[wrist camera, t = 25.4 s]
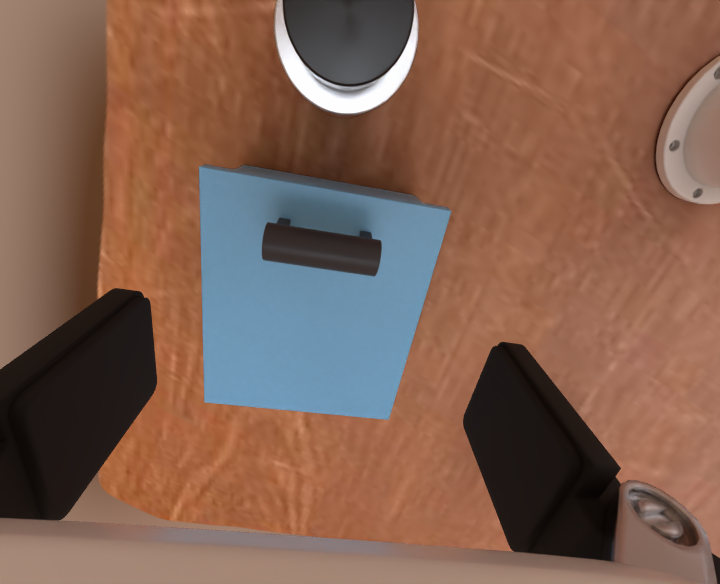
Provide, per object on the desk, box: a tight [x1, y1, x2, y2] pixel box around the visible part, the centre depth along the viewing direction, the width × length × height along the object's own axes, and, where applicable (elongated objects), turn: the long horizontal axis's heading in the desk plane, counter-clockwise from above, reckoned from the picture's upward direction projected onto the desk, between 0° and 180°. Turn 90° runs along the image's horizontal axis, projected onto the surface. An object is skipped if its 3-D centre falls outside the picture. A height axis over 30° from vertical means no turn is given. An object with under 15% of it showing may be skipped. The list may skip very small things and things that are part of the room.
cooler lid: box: [199, 164, 451, 420], centre depth 23 cm, size 18×15×6 cm
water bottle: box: [274, 0, 419, 118], centre depth 20 cm, size 6×6×17 cm
